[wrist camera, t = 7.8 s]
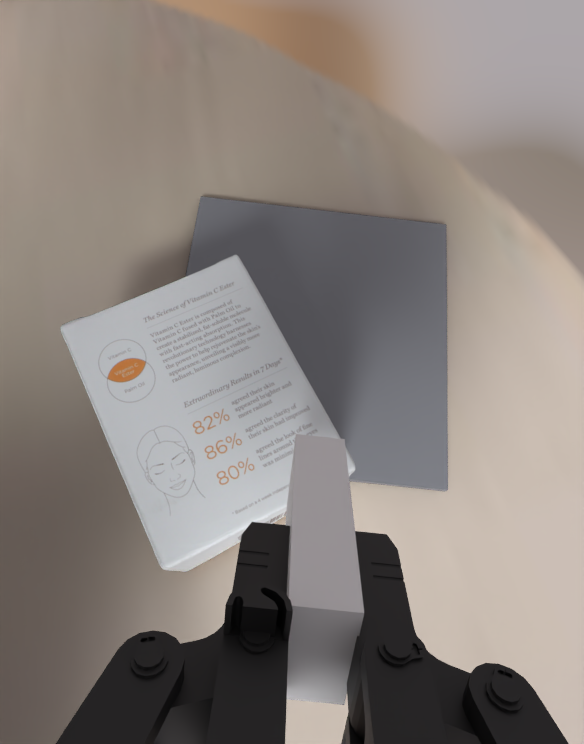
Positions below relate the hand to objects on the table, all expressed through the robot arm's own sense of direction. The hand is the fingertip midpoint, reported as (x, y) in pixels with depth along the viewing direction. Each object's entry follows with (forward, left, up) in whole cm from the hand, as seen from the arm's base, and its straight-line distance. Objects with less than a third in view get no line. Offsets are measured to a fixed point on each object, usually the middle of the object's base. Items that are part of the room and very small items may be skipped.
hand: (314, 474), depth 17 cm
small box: (-1, -1, -6) cm, 6 cm away
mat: (0, +9, -9) cm, 13 cm away
